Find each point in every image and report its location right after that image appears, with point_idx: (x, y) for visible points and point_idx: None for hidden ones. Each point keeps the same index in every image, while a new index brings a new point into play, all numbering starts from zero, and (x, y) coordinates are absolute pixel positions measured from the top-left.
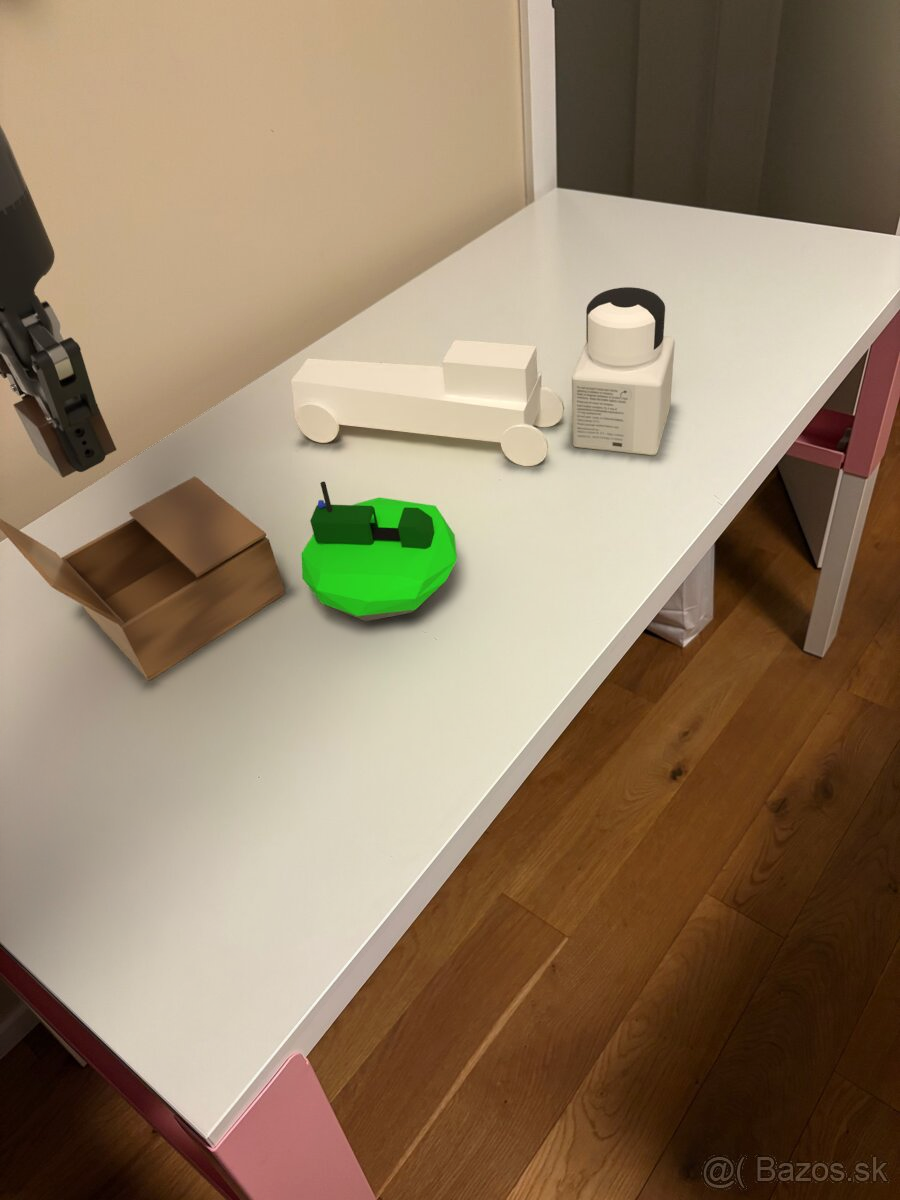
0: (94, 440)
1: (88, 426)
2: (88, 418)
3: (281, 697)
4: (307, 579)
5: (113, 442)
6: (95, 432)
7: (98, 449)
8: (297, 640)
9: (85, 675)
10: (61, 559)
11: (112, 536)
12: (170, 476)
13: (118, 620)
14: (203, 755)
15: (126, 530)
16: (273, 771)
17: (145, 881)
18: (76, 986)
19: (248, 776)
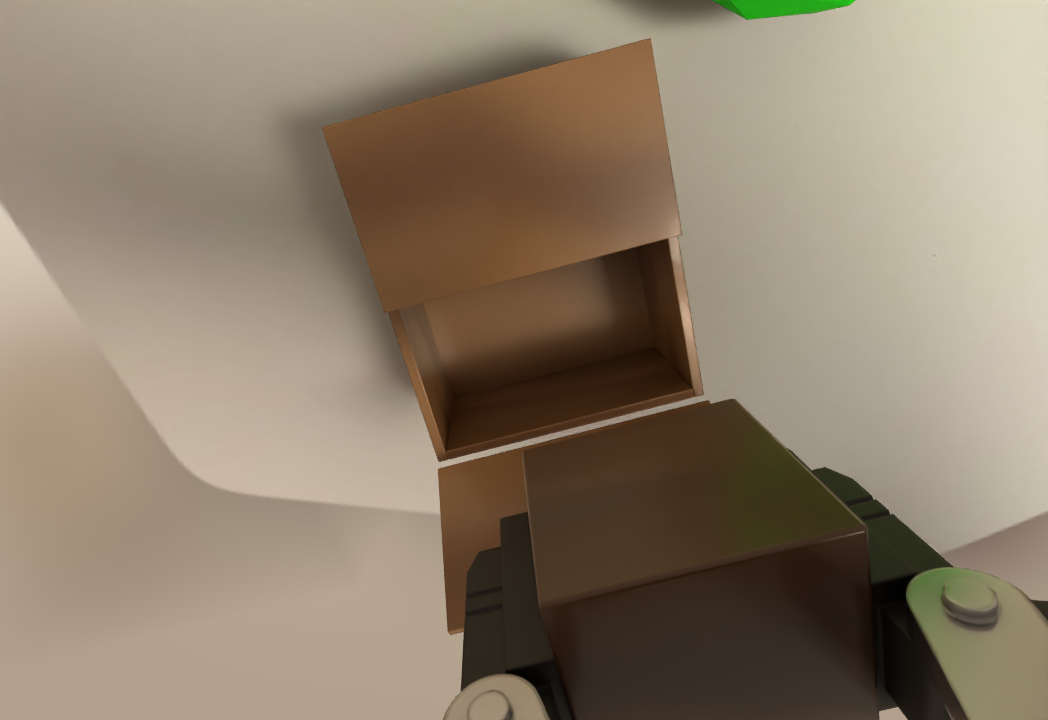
0: (887, 514)
1: (943, 559)
2: (894, 553)
3: (828, 171)
4: (781, 10)
5: (745, 411)
6: (846, 504)
7: (860, 490)
8: (733, 96)
9: (589, 429)
10: (472, 464)
11: (414, 354)
12: (99, 166)
13: (708, 401)
14: (845, 314)
15: (405, 323)
16: (940, 233)
17: (963, 426)
18: (1019, 511)
19: (922, 268)
